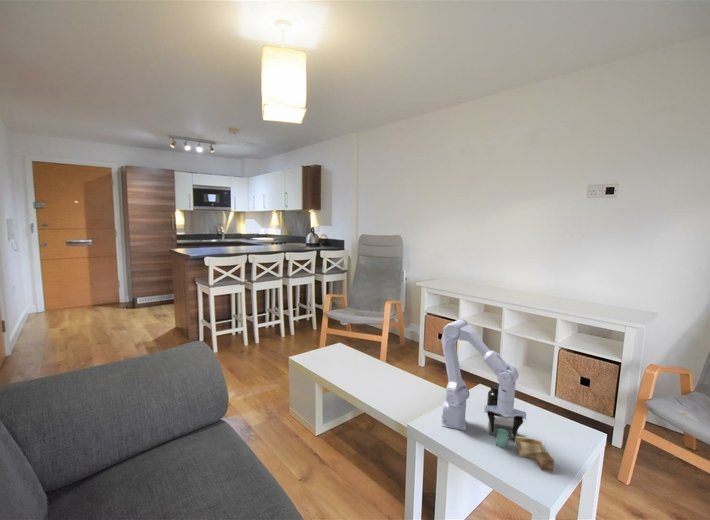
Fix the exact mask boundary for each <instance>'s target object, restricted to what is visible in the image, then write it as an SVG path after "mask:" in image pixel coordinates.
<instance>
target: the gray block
mask: <svg viewBox="0 0 710 520" xmlns="http://www.w3.org/2000/svg"><path fill="white" fill-rule="evenodd" d="M513 424H514V419H509V418H503V417H497V416H495V421H494V432H492V431H491V423H490V420H489V419H488V424H487V429H488V435H491V436H495V437H497V430H498V429H505V430H507V431H508V433H509V434H508V439H512V440H513V439H514V440H515V437H516V436H518V431H517V432H516V435H515V436H513Z"/></svg>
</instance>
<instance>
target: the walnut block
mask: <svg viewBox="0 0 710 520" xmlns="http://www.w3.org/2000/svg"><path fill="white" fill-rule="evenodd" d="M545 452H546V451H545ZM545 452H537V453H536V459H535V464H536V465H537V466H538V467H539V469H540V470H541V471H554V466H555V465H554V464H555V460H554V458H553V457H552V456H551V455H550V453H549V452H546V453H545Z"/></svg>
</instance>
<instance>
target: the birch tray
mask: <svg viewBox="0 0 710 520" xmlns="http://www.w3.org/2000/svg"><path fill="white" fill-rule="evenodd" d="M514 441H515V446H516V448H517V453H518V455H519V456H521V457H525V458H531V459H535V460H536V453H537V452H545V453H547V452H546V450H545V447H544V445H543V442H542V440H541V439H535V438H530V437H525V436H524V437H523V436H518V435H516V437H515V439H514Z"/></svg>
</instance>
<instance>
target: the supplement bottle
mask: <svg viewBox="0 0 710 520" xmlns="http://www.w3.org/2000/svg"><path fill="white" fill-rule="evenodd" d="M498 390H499V384H496V383H495V384H491V385H490V390H488V392H487V399H486V401H487V402H486V403H487V404H486V406H497V401H498ZM494 416H495V417H497V416H502V415H501V414H496V413H494Z"/></svg>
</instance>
